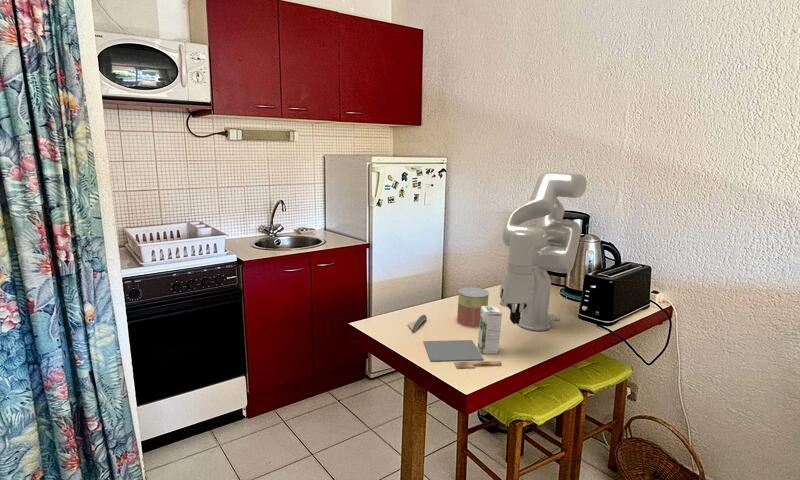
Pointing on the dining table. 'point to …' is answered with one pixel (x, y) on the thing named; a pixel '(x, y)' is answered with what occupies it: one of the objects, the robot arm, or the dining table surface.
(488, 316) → the syrup box
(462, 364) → the spatula
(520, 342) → the dining table surface
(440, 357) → the mat
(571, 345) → the dining table surface
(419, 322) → the ceramic fragment
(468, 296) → the canned food
